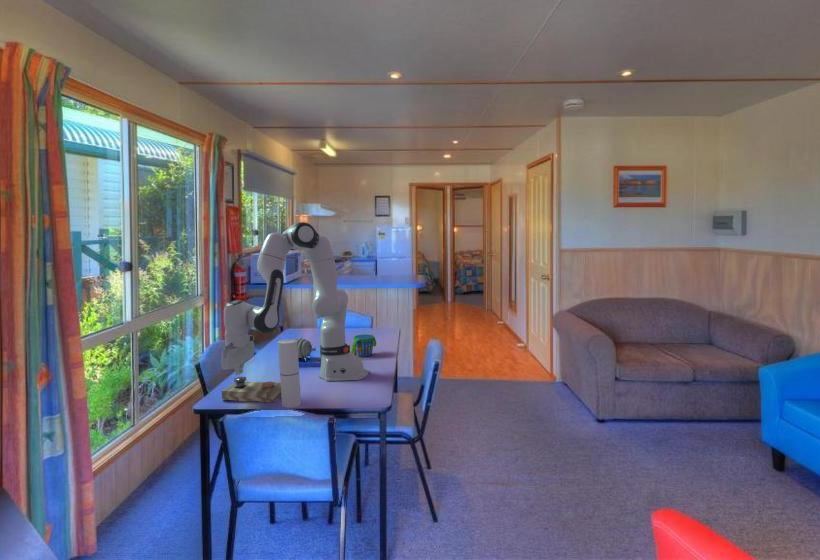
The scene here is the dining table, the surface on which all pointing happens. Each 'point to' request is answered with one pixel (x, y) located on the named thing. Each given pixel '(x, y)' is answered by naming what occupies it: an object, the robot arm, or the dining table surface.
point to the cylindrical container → (289, 372)
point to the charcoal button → (240, 382)
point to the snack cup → (363, 345)
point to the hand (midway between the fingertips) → (239, 373)
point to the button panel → (252, 392)
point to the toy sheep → (304, 348)
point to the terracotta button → (267, 385)
